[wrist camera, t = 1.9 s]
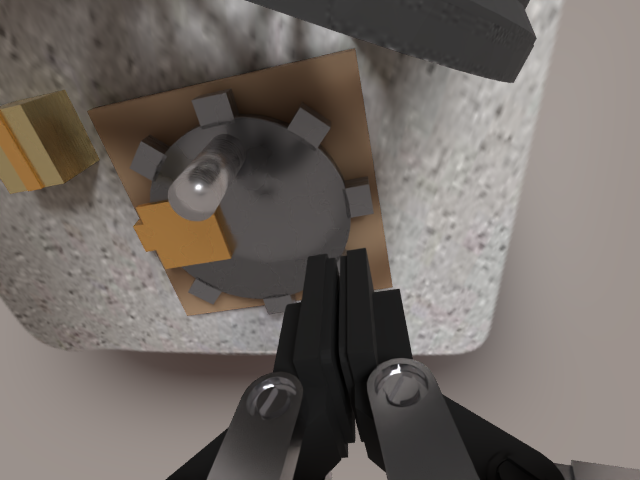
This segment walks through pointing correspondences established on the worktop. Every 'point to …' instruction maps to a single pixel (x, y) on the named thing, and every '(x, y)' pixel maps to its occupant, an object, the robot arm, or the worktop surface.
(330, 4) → the wheel rim
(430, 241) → the worktop surface
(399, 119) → the worktop surface
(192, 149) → the sprocket
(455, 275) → the worktop surface
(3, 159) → the tan block with orange
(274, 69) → the sprocket base
